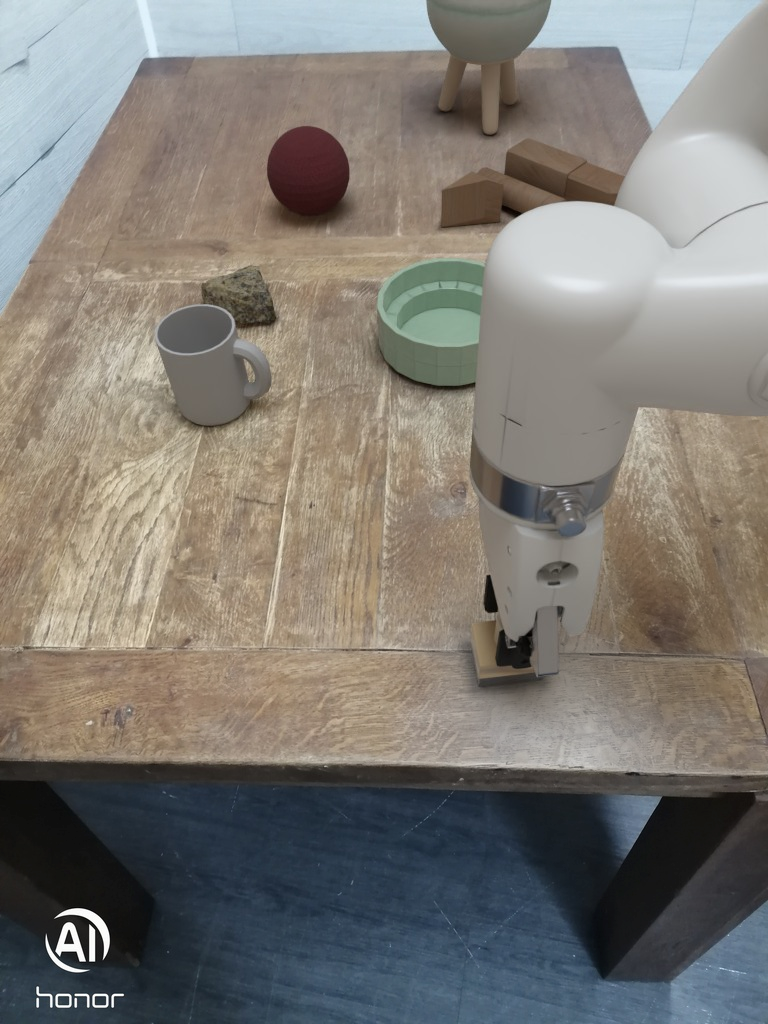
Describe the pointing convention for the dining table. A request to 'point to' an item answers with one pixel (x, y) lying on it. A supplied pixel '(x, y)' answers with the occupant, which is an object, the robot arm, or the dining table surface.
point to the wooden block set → (527, 185)
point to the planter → (485, 46)
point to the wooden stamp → (493, 656)
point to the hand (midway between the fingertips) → (512, 631)
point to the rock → (241, 295)
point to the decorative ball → (308, 171)
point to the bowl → (432, 320)
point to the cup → (210, 364)
